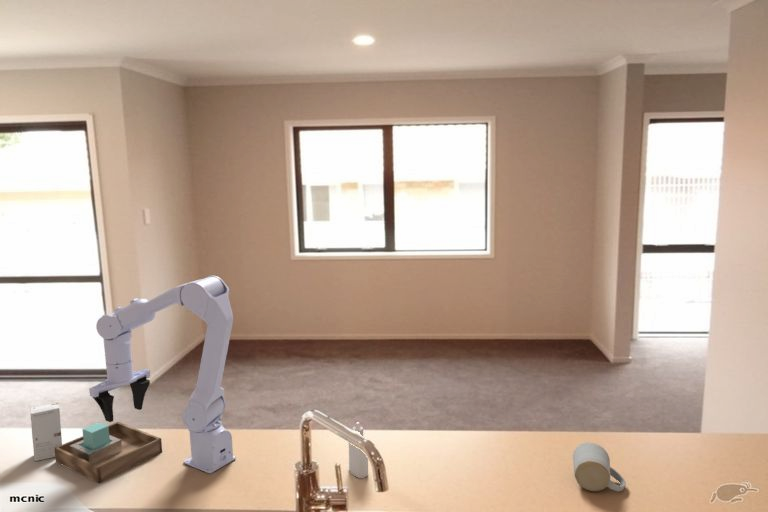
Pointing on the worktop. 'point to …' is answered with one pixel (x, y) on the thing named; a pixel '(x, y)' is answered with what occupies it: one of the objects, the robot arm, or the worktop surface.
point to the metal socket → (97, 450)
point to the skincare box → (45, 430)
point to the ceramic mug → (595, 468)
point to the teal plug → (95, 436)
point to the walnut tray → (133, 452)
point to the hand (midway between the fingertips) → (124, 414)
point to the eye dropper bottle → (358, 458)
